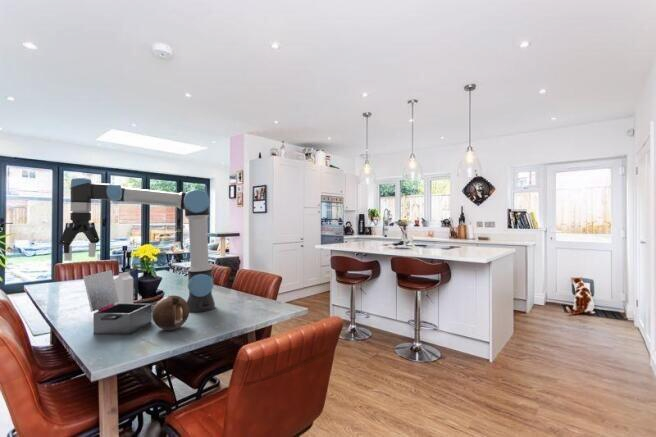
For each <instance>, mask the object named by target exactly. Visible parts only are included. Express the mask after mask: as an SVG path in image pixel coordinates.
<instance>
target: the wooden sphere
mask: <svg viewBox="0 0 656 437" xmlns="http://www.w3.org/2000/svg"><path fill="white" fill-rule="evenodd" d="M189 316H190V312H189V306H188V304H187V301H186V300H185V299H184V298H183V297H181V296H179V295H168V296H164V297H162V298H161V299H159V300H158V301H157V303H155V306H153V309H152V313H151V317H152V320H153V323H154V324H155V325H156V326H157V328H159V329H161V330H165V331H172V330H176V329H179V328H180V327H181V326H183V325H184V324H185V323H186V321H187V320H188V318H189Z"/></svg>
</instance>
